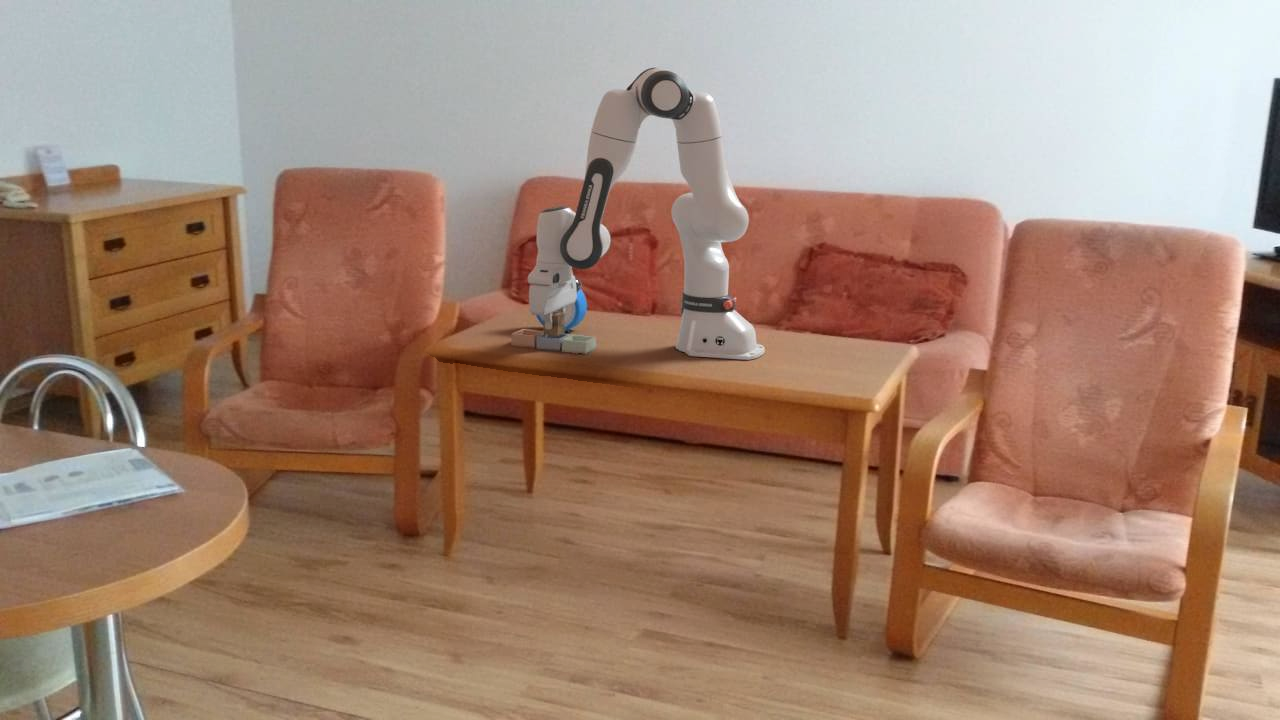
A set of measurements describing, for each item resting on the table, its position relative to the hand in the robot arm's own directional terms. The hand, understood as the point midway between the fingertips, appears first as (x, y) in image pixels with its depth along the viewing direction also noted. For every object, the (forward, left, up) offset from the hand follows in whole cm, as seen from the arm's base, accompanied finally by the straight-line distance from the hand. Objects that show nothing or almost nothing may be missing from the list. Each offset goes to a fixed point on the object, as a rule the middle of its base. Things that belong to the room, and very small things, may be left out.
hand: (553, 326), depth 282 cm
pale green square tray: (-7, 0, -5) cm, 9 cm away
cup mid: (0, 0, -5) cm, 5 cm away
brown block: (0, 0, -2) cm, 2 cm away
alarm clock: (+7, -18, -6) cm, 20 cm away
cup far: (+7, 0, -5) cm, 9 cm away
